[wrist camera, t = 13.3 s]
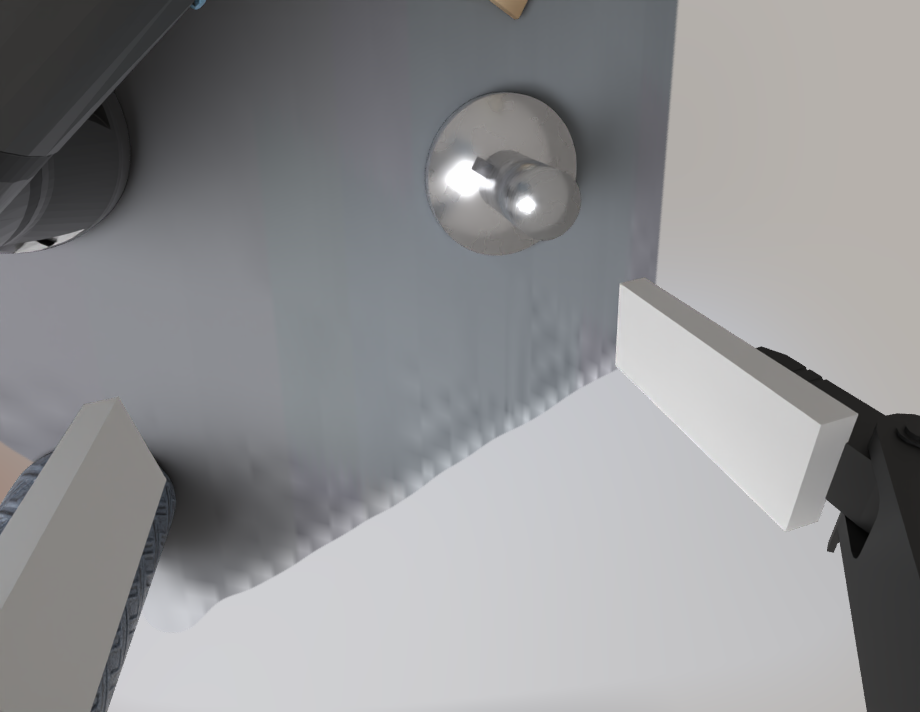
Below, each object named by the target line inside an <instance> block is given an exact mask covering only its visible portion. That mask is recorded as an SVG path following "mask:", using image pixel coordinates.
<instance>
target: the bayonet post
mask: <svg viewBox="0 0 920 712" xmlns="http://www.w3.org/2000/svg"><path fill="white" fill-rule="evenodd" d="M576 171H577V162H576V153H575V148H574V144H573V141H572V138H571V135H570V133H569V131H568V129H567V127H566V125H565V124H564V122H563V121H562V119H561V118H560V117H559V116H558V115H557V113H556V112H555V111H554V110H552V109H551V108H550V107H549V106H548V105H546V104H545V103H543V102H541V101H539V100H538V99H535V98H533V97H530V96H527V95H522V94H517V93H510V92H497V93H489V94H486V95H482V96H479V97H477V98H474V99H472V100H470V101H468V102H467V103H465V104H463V105H462V106H460V107H459V108H458V109H457V110H456V111H454V112H453V113H452V114H451V115H450V116H449V117H448V118H447V119H446V121H445V122H444V123H443V125H442V126H441V127H440V129H439V130H438V132H437V134H436V136H435V138H434V139H433V142H432V144H431V147H430V149H429V153H428V157H427V161H426V168H425V187H426V194H427V198H428V202H429V205H430V207H431V210H432V212H433V214H434V216H435V218H436V220H437V221H438V222H439V224H440V225H441V226H442V228H443V229H444V230H445V231H446V233H447V234H448V235H449V236H450V237H451V238H452V239H453V240H455V241H456V242H457V243H458V244H460V245H461V246H463V247H465V248H467V249H469V250H471V251H474V252H476V253H480V254H484V255H507V254H512V253H516V252H519V251H522V250H524V249H526V248H528V247H530V246H532V245H534V244H535V243H537V242H538V241H540V240H542V241H543V240H551V239H555V238H557V237H559V236H561V235H562V234H564V233H565V232H566V231H567V230H568V229H569V228H570V227H571V226H572V225H573V223H574V222H575V220H576V218H577V216H578V214H579V210H580V206H581V194H580V190H579V187H578V185H577V183H576Z"/></svg>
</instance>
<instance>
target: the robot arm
mask: <svg viewBox="0 0 920 712" xmlns="http://www.w3.org/2000/svg"><path fill="white" fill-rule="evenodd" d="M205 2H206V0H0V254H10V253H27V252H35V251H41V250H46V249H49V248H53V247H56V246H59V245H62V244H65V243H67V242H69V241H72V240H74V239H75V238H77V237H79V236H81V235H82V234H84V233H85V232H87V231H88V230H89V229H91V228H92V227H93V226H95V225H96V224H97V223H99V222H100V221H101V220H102V219H103V218H104V217H105V216H106V215H108V213H109V212H110V211H111V210H112V209H113V207H114V206H115V205H116V203H117V202H118V200H119V198H120V196H121V195H122V192H123V190H124V188H125V185H126V182H127V178H128V174H129V168H130V140H129V134H128V129H127V125H126V121H125V117H124V114H123V112H122V109H121V106H120V104H119V101H118V99H117V97H116V95H115V93H114V89H115V88H116V87H117V86H118V85H119V84H120V83H121V82H122V81H123V80H124V78H125V77H126V76H127V75H128V74H129V73H130V72H131V71H132V70H133V69H134V68H135V66H136V65H137V64H138V63H139V62H140V61H141V60H142V59H143V58H144V57H145V55H146V54H147V53H148V52H149V51H150V50H151V49H152V48H153V47H154V46H155V44H156V43H157V42H158V41H159V40H160V39H161V38H162V37H163V36H164V35H165V34H166V32H167V31H168V30H169V29H170V28H171V27H172V26H173V25H174V24H175V23H176V21H177V20H178V19H179V18H180V17H181V16H182V15H183V14H184V13H185V12H186V10H187V9H188V8H189V7H191V8H193V9H195V10H197V9H199V8H201V7H202V6H203V5H204V4H205ZM615 366H616V367H617V368H618V369H619V370H620V371H621V372H622V373H623V374H625V375H626V376H627V377H628V378H629V379H630V380H631V381H632V382H633V383H634V384H635V385H636V386H637V387H638V388H639V389H640V390H641V391H642V392H643V393H644V394H645V395H646V396H647V397H648V398H649V399H650V400H651V401H652V402H653V403H654V404H655V405H656V406H657V407H658V408H659V409H660V410H661V411H662V412H663V413H664V414H666V416H667V417H668V418H669V419H670V420H672V421H673V422H674V423H675V424H676V425H677V426H678V427H679V428H680V429H681V430H682V431H683V432H684V433H685V434H686V435H687V436H688V437H689V438H690V439H691V440H692V441H693V442H694V443H695V444H696V445H697V446H698V447H699V448H700V449H701V450H702V451H703V452H704V453H705V454H706V455H707V456H708V457H709V458H710V459H711V460H712V461H713V462H714V463H716V464H717V466H719V468H720V469H722V470H723V472H725V473H726V474H727V475H728V476H729V477H730V478H731V479H732V480H733V481H734V482H735V483H736V484H737V485H738V486H739V487H740V488H741V489H742V490H743V491H744V492H745V493H746V494H747V495H748V496H749V497H750V498H751V499H752V500H753V501H754V502H755V503H756V504H757V505H758V506H759V507H760V508H761V509H762V510H763V511H764V512H765V513H766V514H767V515H768V516H770V518H771V519H772V520H773V521H775V522H776V523H777V524H778V525H779V526H780V527H781V528H782V529H783V530H784V531H785V532H788V531H791V530H794V529H797V528H800V527H803V526H806V525H809V524H812V523H815V522H818V520H819V518H820V515H821V512H822V510H823V507H824V504H825V502H826V499H827V500H828V501H829V502H830V503H831V504H832V505H834V506H835V507H836V508H837V509H838V510H840V511H841V513H840V515H839V517H838V520H837V522H836V525H835V527H834V530H833V532H832V535H831V537H830V540H829V542H828V547H827V551H829V552H834V550H835V548H836V545H837V543H839V542H840V547H841V553H842V558H843V565H844V572H845V578H846V584H847V590H848V596H849V602H850V609H851V615H852V621H853V627H854V634H855V640H856V646H857V652H858V658H859V665H860V671H861V677H862V683H863V689H864V696H865V702H866V708H867V712H920V416H918V415H914V414H892V415H887V416H885V415H884V414H882V413H880V412H879V411H877V410H875V409H874V408H872V407H870V406H869V405H867V404H866V403H864V402H862V401H861V400H859V399H857V398H856V397H854V396H853V395H851V394H849V393H848V392H846V391H844V390H843V389H841V388H839V387H837V386H836V385H834V384H833V383H831V382H830V381H828V380H823V379H822V377H821V376H820V375H818V374H816V373H815V372H813V371H812V370H807V369H806V367H805V366H803V365H802V364H800V363H799V362H797V361H795V360H794V359H792V358H790V357H788V356H787V355H785V354H782V353H779V352H776V351H773V350H770V349H767V348H764V347H758V348H754V347H753V346H751V345H749V344H748V343H746V342H745V341H743V340H742V339H740V338H738V337H737V336H735V335H734V334H732V333H731V332H729V331H727V330H726V329H724V328H723V327H721V326H720V325H718V324H717V323H715V322H713V321H712V320H710V319H709V318H707V317H706V316H704V315H702V314H701V313H699V312H697V311H696V310H695V309H693V308H691V307H690V306H688V305H687V304H685V303H684V302H682V301H680V300H679V299H677V298H676V297H674V296H673V295H671V294H669V293H668V292H666V291H665V290H663V289H662V288H660V287H659V286H657V285H655V284H654V283H652V282H651V281H649V280H648V279H646V278H641V279H636V280H632V281H627V282H623V283H620V289H619V308H618V326H617V344H616V362H615ZM165 483H166V478H165V476H164V475H163V473H162V471H161V469H160V468H159V466H158V464H157V462H156V461H155V459H154V457H153V456H152V454H151V452H150V450H149V449H148V447H147V445H146V443H145V442H144V440H143V438H142V437H141V435H140V433H139V431H138V430H137V428H136V426H135V424H134V423H133V421H132V419H131V417H130V416H129V414H128V412H127V411H126V409H125V407H124V405H123V404H122V402H121V400H120V398H119V397H115V398H110V399H106V400H101V401H97V402H93V403H88V404H84V405H83V406H82V408H81V410H80V411H79V413H78V414H77V416H76V417H75V419H74V421H73V422H72V424H71V425H70V427H69V428H68V430H67V431H66V433H65V435H64V436H63V438H62V439H61V441H60V442H59V444H58V446H57V447H56V449H55V450H54V452H53V453H52V455H51V456H50V458H49V460H48V461H47V463H46V464H45V466H44V467H43V469H42V471H41V472H40V474H39V475H38V477H37V478H36V480H35V481H34V483H33V485H32V486H31V488H30V489H29V491H28V492H27V494H26V496H25V497H24V499H23V500H22V502H21V503H20V505H19V506H18V508H17V510H16V511H15V513H14V514H13V516H12V517H11V519H10V521H9V522H8V524H7V525H6V527H5V528H4V530H3V531H2V533H1V535H0V712H90V711H91V708H92V705H93V702H94V699H95V696H96V693H97V690H98V687H99V684H100V681H101V678H102V675H103V672H104V669H105V666H106V663H107V660H108V656H109V653H110V650H111V647H112V644H113V641H114V638H115V635H116V632H117V629H118V626H119V623H120V620H121V617H122V614H123V611H124V608H125V605H126V602H127V599H128V595H129V592H130V589H131V586H132V583H133V580H134V577H135V574H136V571H137V568H138V565H139V562H140V559H141V556H142V553H143V550H144V547H145V544H146V541H147V538H148V534H149V531H150V528H151V525H152V522H153V519H154V516H155V513H156V510H157V507H158V504H159V501H160V498H161V495H162V492H163V489H164V486H165Z"/></svg>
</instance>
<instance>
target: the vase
mask: <svg viewBox="0 0 920 712" xmlns="http://www.w3.org/2000/svg"><path fill="white" fill-rule="evenodd" d="M52 453H53V452H52ZM52 453H49V454H47V455H45V456H43V457H42V458H40V459H39V460H37V461H36V462H34V463H33V464H32V465H30V466H29V467H28V468H27V469H26V470H25V471H24V472H23V473H22V474H21V475H20V476H19V477H18V479H17V480H16V482H15V483H14V485H13V486H12V488H11V489H10V491H9V492H8V494H7V495H6V497H5V498H4V500H3V502H2V503H1V505H0V535H1V533H2V531H3V530H4V528H5V527H6V525H7V524H8V522H9V521H10V519H11V517H12V516H13V514H14V513H15V511H16V510H17V508H18V506H19V505H20V503H21V502H22V500H23V499H24V497H25V496H26V494H27V492H28V491H29V489H30V488H31V486H32V485H33V483H34V481H35V480H36V478H37V477H38V475H39V474H40V472H41V471H42V469H43V467H44V466H45V464H46V463H47V461H48V460H49V458H50V456H51V455H52ZM159 468H160V469H161V471H162V473H163V475H164V476H165V478H166V483H165V486H164V489H163V492H162V495H161V498H160V501H159V504H158V507H157V510H156V513H155V516H154V519H153V522H152V525H151V528H150V531H149V534H148V538H147V541H146V544H145V547H144V550H143V553H142V556H141V559H140V562H139V565H138V568H137V571H136V574H135V577H134V580H133V583H132V586H131V589H130V592H129V595H128V599H127V602H126V605H125V608H124V611H123V614H122V617H121V620H120V623H119V626H118V629H117V632H116V635H115V638H114V641H113V644H112V647H111V650H110V653H109V656H108V660H107V663H106V666H105V669H104V672H103V675H102V678H101V681H100V684H99V687H98V690H97V693H96V696H95V699H94V702H93V705H92V708H91V711H90V712H107V710H108V707H109V704H110V701H111V698H112V695H113V692H114V690H115V687H116V684H117V681H118V678H119V675H120V672H121V669H122V666H123V664H124V661H125V658H126V654H127V652H128V649H129V646H130V643H131V640H132V637H133V634H134V631H135V629H136V625H137V622H138V620H139V617H140V614H141V611H142V608H143V605H144V602H145V599H146V596H147V594H148V591H149V588H150V585H151V582H152V579H153V576H154V573H155V570H156V567H157V564H158V562H159V559H160V556H161V553H162V550H163V547H164V544H165V541H166V538H167V535H168V532H169V529H170V526H171V523H172V520H173V516H174V513H175V509H176V497H175V490H174V487H173V484H172V482H171V480H170V478H169V477H168V475H167V474H166V473H165V471H164V470H163V469H162V468H161V467H159Z"/></svg>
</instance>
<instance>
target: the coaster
mask: <svg viewBox="0 0 920 712" xmlns="http://www.w3.org/2000/svg"><path fill="white" fill-rule="evenodd" d="M489 1H491V2H492V3H493V4H495V5H496V6H497V7H499V8H500V9H501V10H503V11H504V12H505V13H507V14H508V15H509V16H511V17H512V18H513V19H514V20H515V19H519V17H520V15H521V13H522V11H523V9H524V7H525V5H526V3H527V1H528V0H489Z"/></svg>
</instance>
